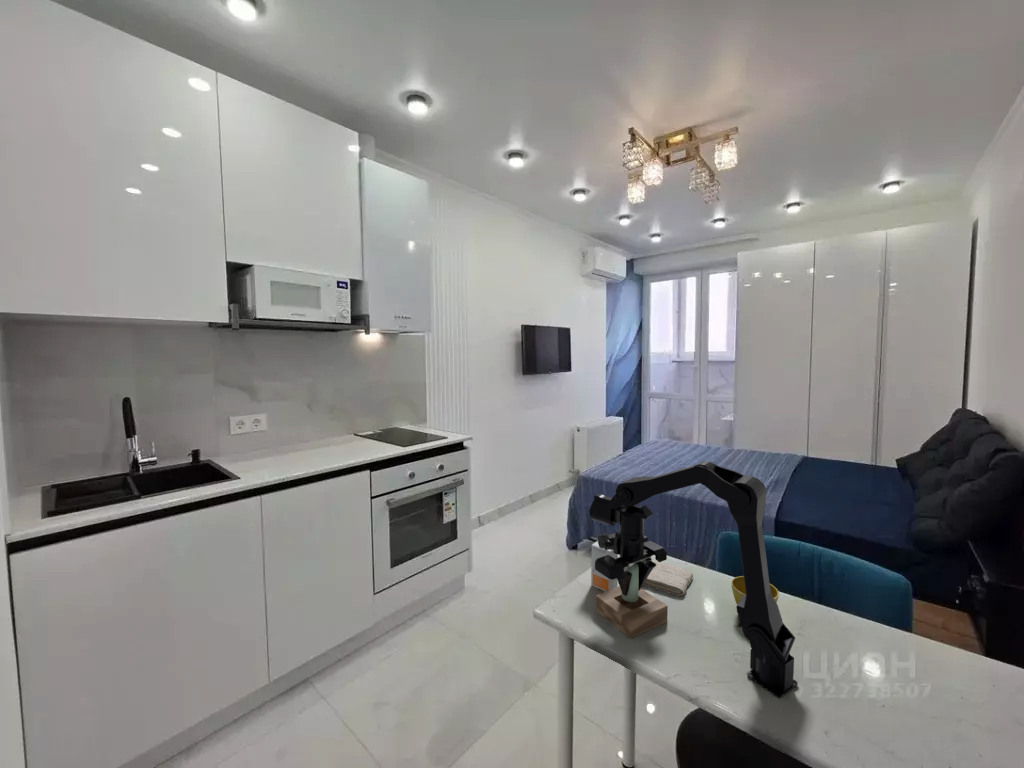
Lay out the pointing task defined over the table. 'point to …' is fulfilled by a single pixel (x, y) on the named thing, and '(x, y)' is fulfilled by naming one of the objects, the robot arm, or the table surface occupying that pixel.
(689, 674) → the table surface
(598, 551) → the skincare box
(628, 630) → the walnut socket
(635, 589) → the sage peg
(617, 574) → the robot arm
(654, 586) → the washcloth
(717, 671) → the table surface
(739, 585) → the yellow bowl
